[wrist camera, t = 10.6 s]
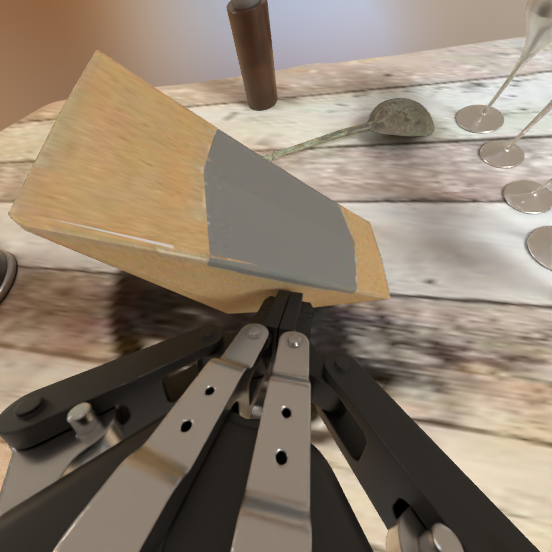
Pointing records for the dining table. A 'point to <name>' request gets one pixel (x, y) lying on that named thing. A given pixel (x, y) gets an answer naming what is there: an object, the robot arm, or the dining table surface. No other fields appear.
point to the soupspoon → (379, 124)
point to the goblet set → (482, 119)
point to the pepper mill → (254, 50)
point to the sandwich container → (188, 203)
